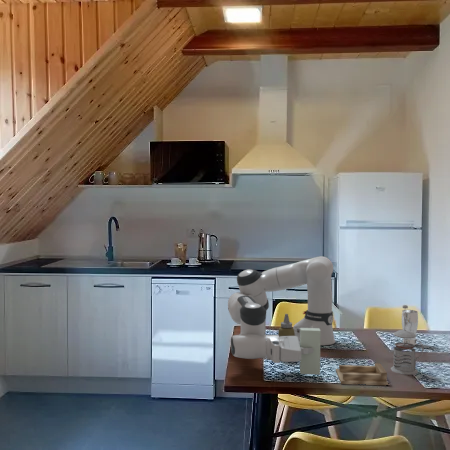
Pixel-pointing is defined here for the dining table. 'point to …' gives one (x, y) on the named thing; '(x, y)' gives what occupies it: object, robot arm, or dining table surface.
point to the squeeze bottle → (286, 328)
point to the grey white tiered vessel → (405, 353)
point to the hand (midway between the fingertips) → (312, 348)
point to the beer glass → (410, 324)
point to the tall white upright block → (310, 360)
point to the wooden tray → (362, 374)
